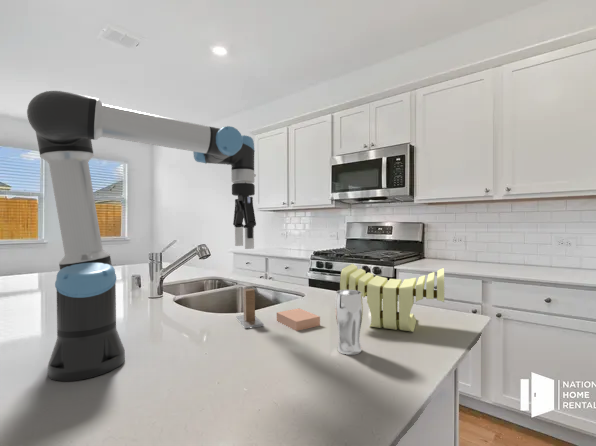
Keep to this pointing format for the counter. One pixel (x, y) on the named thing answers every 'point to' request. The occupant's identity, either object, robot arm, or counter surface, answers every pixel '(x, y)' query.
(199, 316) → the counter surface
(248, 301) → the trowel
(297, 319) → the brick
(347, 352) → the beer glass
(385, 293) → the slatted curved stool
